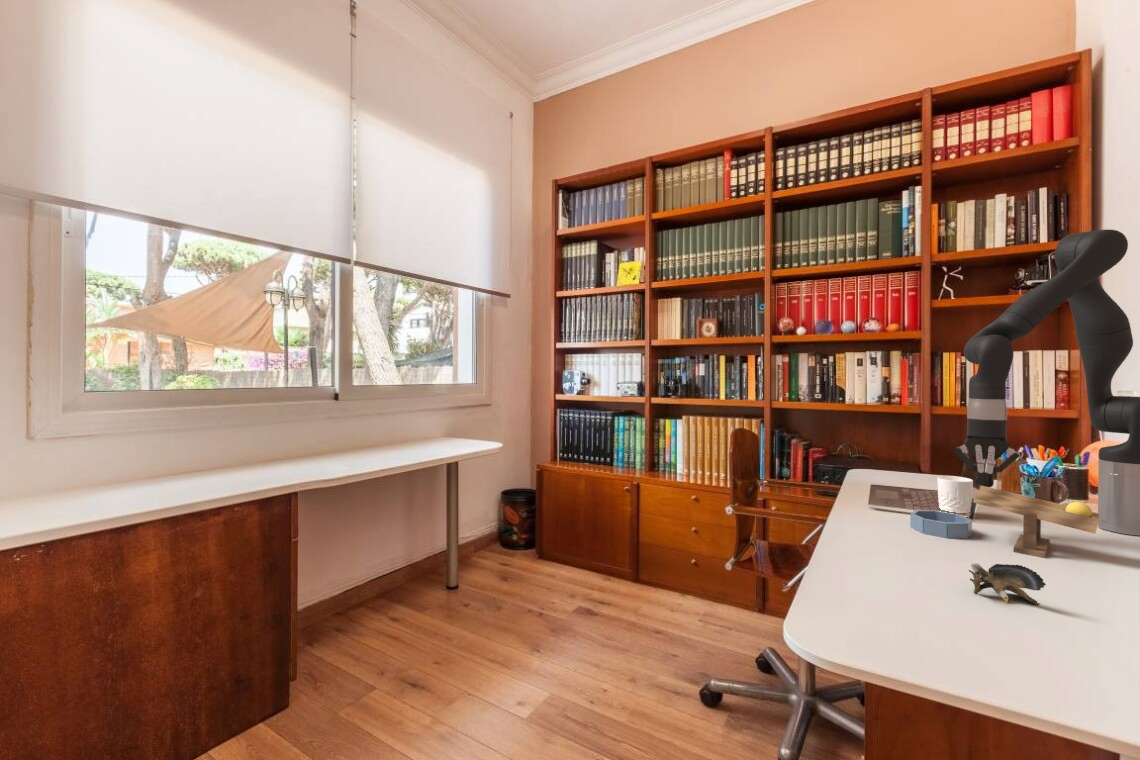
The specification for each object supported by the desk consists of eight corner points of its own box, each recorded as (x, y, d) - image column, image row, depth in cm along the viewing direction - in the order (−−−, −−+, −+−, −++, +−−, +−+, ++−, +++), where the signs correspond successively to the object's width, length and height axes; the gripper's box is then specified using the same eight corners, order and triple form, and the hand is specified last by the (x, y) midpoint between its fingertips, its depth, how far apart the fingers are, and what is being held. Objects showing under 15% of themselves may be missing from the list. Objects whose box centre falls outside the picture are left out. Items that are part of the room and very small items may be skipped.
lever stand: (1013, 551, 111) (1013, 512, 111) (1020, 538, 120) (1021, 502, 119) (1044, 557, 107) (1045, 517, 107) (1049, 543, 116) (1050, 506, 116)
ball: (1071, 516, 111) (1078, 499, 110) (1093, 525, 107) (1100, 508, 106) (1057, 515, 110) (1064, 498, 109) (1078, 524, 106) (1085, 506, 105)
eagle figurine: (985, 600, 84) (1053, 598, 81) (969, 556, 88) (1033, 553, 85) (976, 609, 90) (1039, 608, 87) (961, 567, 94) (1020, 565, 91)
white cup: (960, 511, 143) (960, 476, 143) (979, 519, 136) (980, 481, 136) (930, 510, 144) (930, 475, 144) (948, 518, 136) (948, 481, 136)
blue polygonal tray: (906, 530, 126) (906, 516, 126) (918, 521, 134) (918, 507, 134) (965, 541, 117) (965, 526, 117) (974, 531, 125) (974, 516, 125)
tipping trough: (970, 502, 118) (972, 489, 118) (980, 493, 127) (982, 481, 127) (1095, 535, 104) (1098, 519, 103) (1096, 522, 113) (1099, 508, 112)
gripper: (950, 416, 126) (949, 486, 126) (1020, 420, 117) (1019, 495, 117) (956, 414, 131) (955, 481, 132) (1024, 418, 122) (1023, 490, 122)
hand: (985, 488), depth 124 cm, fingers closed
